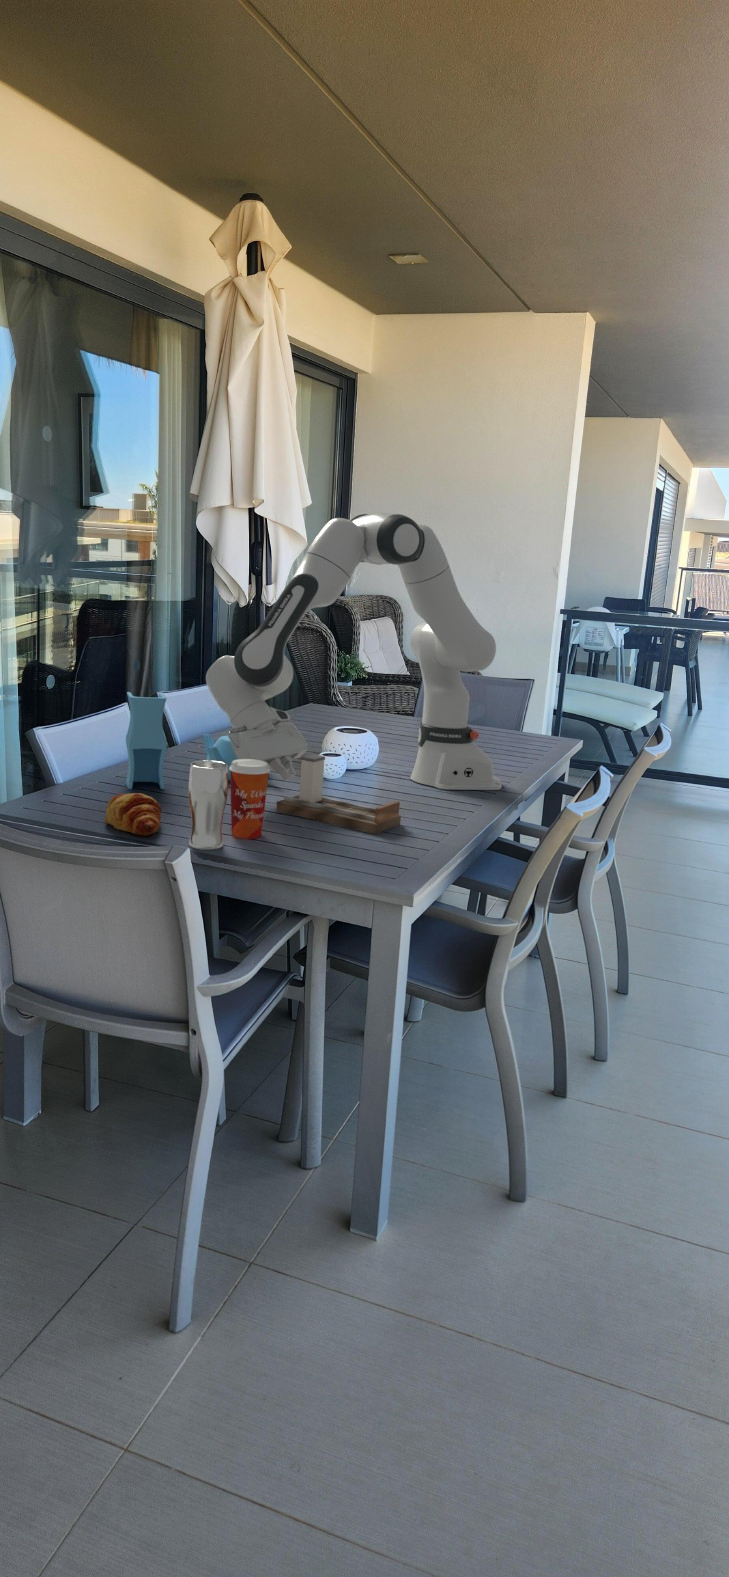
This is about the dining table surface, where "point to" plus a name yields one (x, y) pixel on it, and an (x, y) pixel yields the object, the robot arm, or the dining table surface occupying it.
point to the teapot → (220, 751)
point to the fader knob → (311, 778)
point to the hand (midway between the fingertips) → (290, 777)
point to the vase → (145, 740)
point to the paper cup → (248, 797)
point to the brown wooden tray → (344, 813)
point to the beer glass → (207, 803)
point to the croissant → (134, 813)
